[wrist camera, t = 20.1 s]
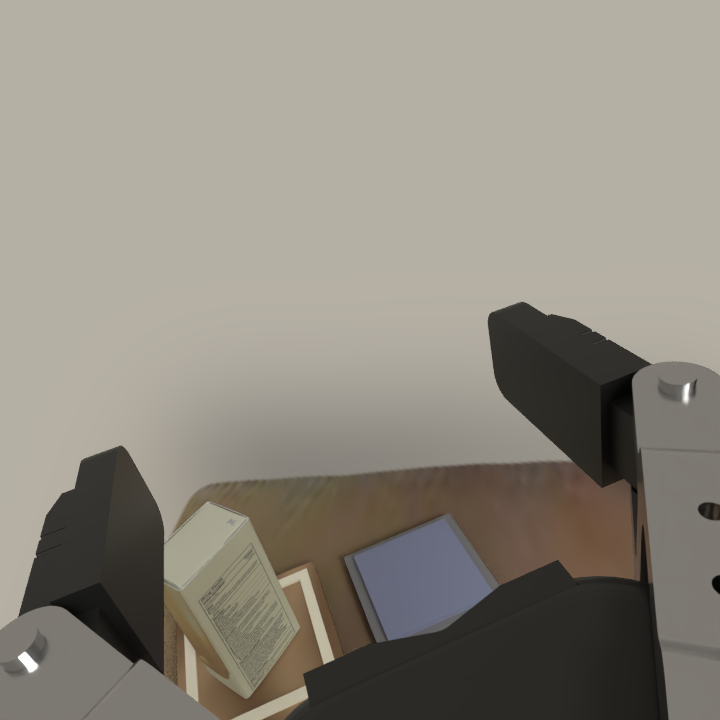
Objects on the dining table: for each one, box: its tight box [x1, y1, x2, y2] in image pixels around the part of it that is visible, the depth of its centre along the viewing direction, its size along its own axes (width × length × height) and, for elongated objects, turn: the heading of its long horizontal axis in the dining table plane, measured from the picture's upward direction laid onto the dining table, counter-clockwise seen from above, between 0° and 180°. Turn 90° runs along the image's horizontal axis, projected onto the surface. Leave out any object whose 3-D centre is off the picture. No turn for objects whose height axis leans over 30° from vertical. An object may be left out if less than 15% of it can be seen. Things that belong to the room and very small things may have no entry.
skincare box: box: [164, 501, 300, 699], centre depth 39 cm, size 6×4×12 cm
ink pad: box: [343, 513, 499, 643], centre depth 45 cm, size 10×10×2 cm
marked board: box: [176, 561, 344, 720], centre depth 42 cm, size 12×12×1 cm
